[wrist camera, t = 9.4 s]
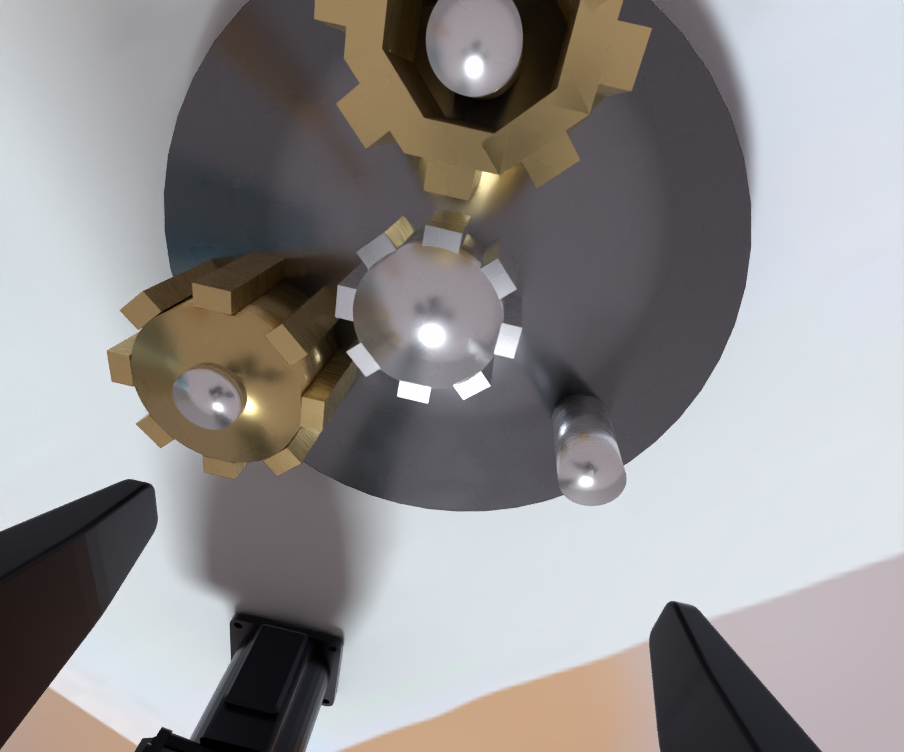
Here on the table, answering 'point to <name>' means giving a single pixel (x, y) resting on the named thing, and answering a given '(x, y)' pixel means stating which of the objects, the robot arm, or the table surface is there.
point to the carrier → (438, 267)
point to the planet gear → (464, 143)
